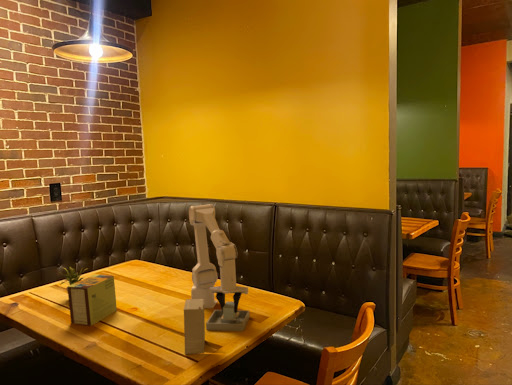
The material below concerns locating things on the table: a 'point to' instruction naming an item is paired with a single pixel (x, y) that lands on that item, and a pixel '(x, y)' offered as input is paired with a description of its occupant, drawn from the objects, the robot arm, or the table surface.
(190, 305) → the skincare box
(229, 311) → the carton
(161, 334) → the table surface
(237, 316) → the wooden block
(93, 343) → the table surface
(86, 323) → the protein box
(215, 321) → the crate
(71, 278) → the house plant
